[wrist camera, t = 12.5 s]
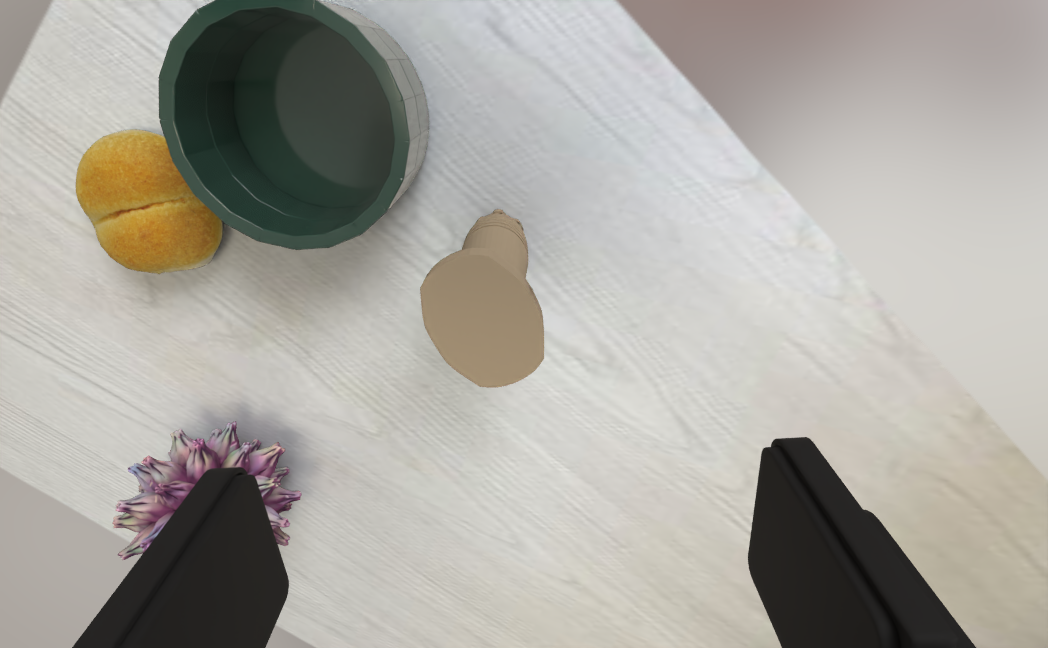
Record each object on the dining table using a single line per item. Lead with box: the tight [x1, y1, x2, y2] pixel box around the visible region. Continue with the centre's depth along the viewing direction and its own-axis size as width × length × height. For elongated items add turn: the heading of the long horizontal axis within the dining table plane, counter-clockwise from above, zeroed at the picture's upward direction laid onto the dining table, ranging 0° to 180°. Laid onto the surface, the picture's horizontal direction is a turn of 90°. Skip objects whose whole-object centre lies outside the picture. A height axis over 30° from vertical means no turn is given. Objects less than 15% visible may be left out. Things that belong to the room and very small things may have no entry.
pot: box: [159, 0, 429, 250], centre depth 33 cm, size 13×13×7 cm
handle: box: [420, 209, 544, 387], centre depth 32 cm, size 5×6×15 cm
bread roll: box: [76, 129, 223, 274], centre depth 37 cm, size 8×9×4 cm
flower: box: [113, 421, 302, 560], centre depth 42 cm, size 12×12×12 cm
